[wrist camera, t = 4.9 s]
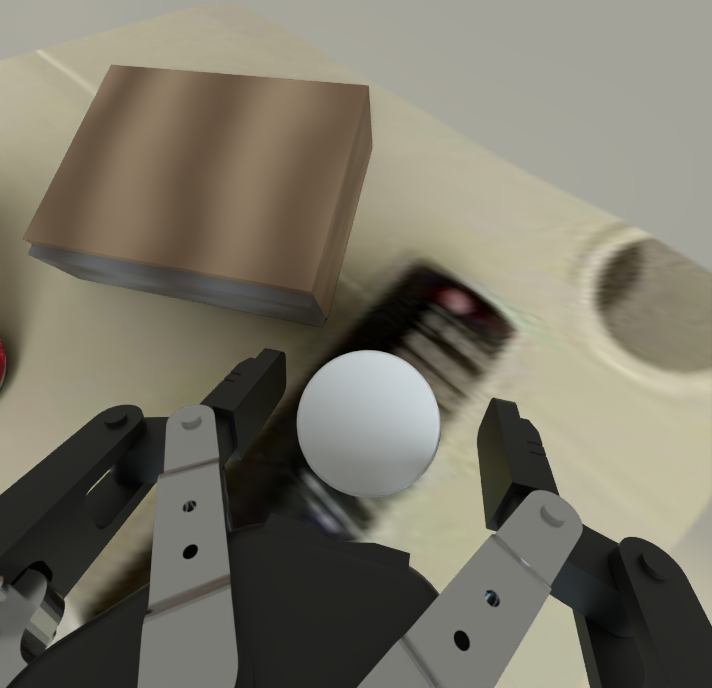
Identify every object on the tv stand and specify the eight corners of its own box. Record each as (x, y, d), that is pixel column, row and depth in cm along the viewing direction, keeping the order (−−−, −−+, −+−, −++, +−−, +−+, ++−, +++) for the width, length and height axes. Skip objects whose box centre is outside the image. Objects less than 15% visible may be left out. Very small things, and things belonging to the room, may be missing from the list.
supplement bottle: (441, 444, 16) (492, 462, 8) (359, 489, 16) (329, 554, 8) (394, 362, 18) (398, 308, 10) (317, 404, 17) (255, 385, 9)
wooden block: (86, 281, 21) (17, 249, 17) (156, 124, 24) (111, 64, 20) (324, 329, 18) (307, 303, 15) (372, 147, 21) (368, 85, 17)
